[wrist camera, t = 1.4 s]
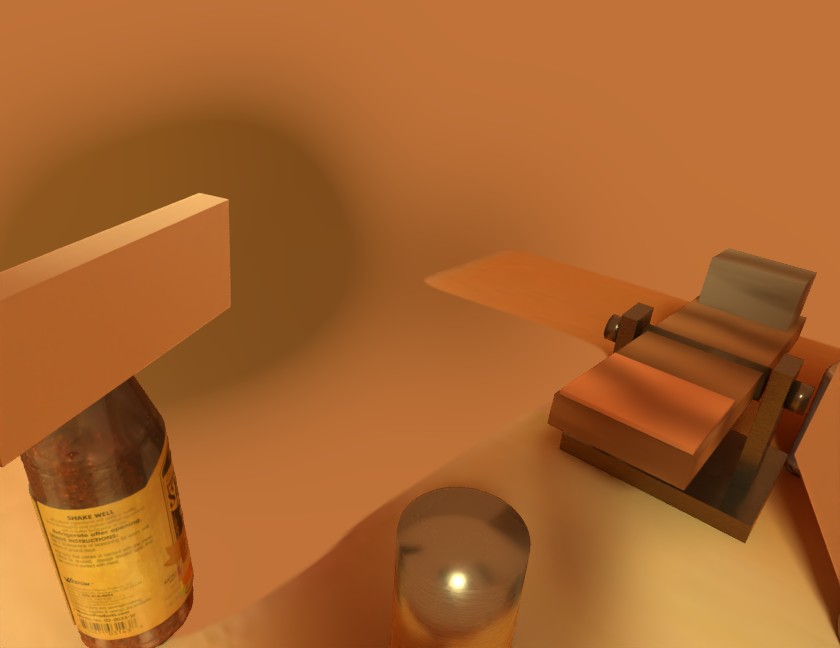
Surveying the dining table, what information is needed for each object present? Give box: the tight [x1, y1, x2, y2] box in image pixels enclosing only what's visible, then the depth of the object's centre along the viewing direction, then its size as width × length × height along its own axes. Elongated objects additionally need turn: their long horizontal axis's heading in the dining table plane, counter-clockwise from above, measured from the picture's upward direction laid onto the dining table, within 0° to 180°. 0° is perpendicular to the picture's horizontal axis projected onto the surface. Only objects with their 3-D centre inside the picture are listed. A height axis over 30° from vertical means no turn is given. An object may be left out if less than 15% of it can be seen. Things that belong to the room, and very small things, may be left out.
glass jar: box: [391, 487, 530, 648], centre depth 31 cm, size 6×6×10 cm
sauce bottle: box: [20, 376, 194, 648], centre depth 31 cm, size 7×6×20 cm
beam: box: [548, 249, 816, 490], centre depth 45 cm, size 30×9×6 cm, turn 140°
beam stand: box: [560, 303, 815, 543], centre depth 47 cm, size 10×14×11 cm
